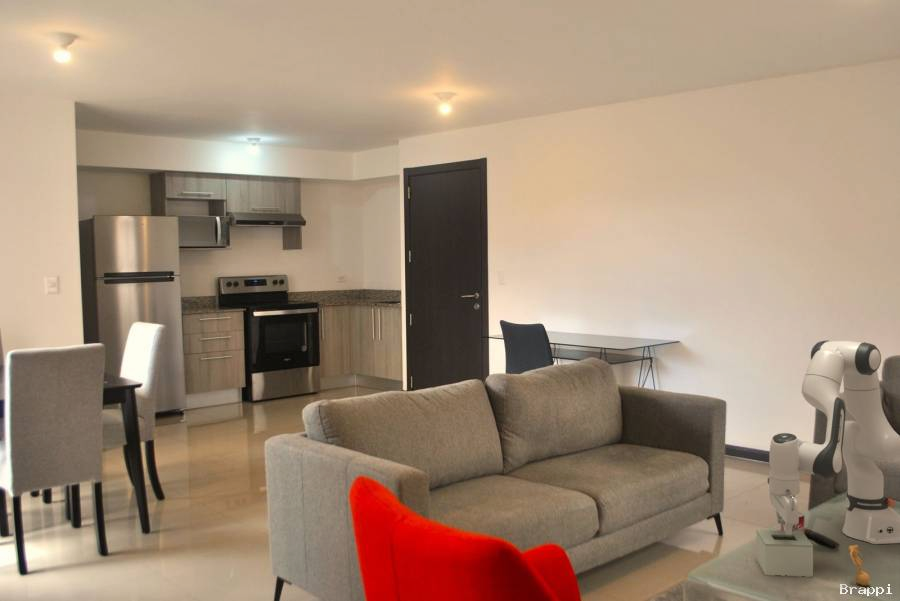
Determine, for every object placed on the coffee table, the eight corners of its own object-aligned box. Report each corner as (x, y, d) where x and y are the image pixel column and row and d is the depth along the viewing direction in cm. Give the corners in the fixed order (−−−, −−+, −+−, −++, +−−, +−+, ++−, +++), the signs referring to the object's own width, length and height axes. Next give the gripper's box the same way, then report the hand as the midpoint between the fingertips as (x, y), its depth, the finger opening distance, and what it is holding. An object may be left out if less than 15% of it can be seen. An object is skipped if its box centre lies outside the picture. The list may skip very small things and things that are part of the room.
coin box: (801, 561, 256) (801, 531, 255) (812, 576, 244) (813, 545, 243) (756, 559, 258) (756, 529, 257) (765, 575, 246) (765, 543, 245)
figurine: (867, 591, 233) (867, 552, 232) (844, 586, 237) (845, 547, 236) (872, 581, 240) (873, 543, 239) (851, 576, 243) (851, 538, 242)
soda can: (806, 552, 262) (806, 517, 261) (783, 551, 264) (783, 516, 263) (801, 544, 269) (801, 510, 269) (778, 543, 271) (778, 509, 270)
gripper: (804, 496, 238) (804, 541, 239) (786, 476, 258) (786, 517, 259) (782, 496, 239) (782, 540, 240) (766, 476, 259) (766, 517, 260)
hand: (784, 528), depth 250 cm, fingers open, 8 cm apart
